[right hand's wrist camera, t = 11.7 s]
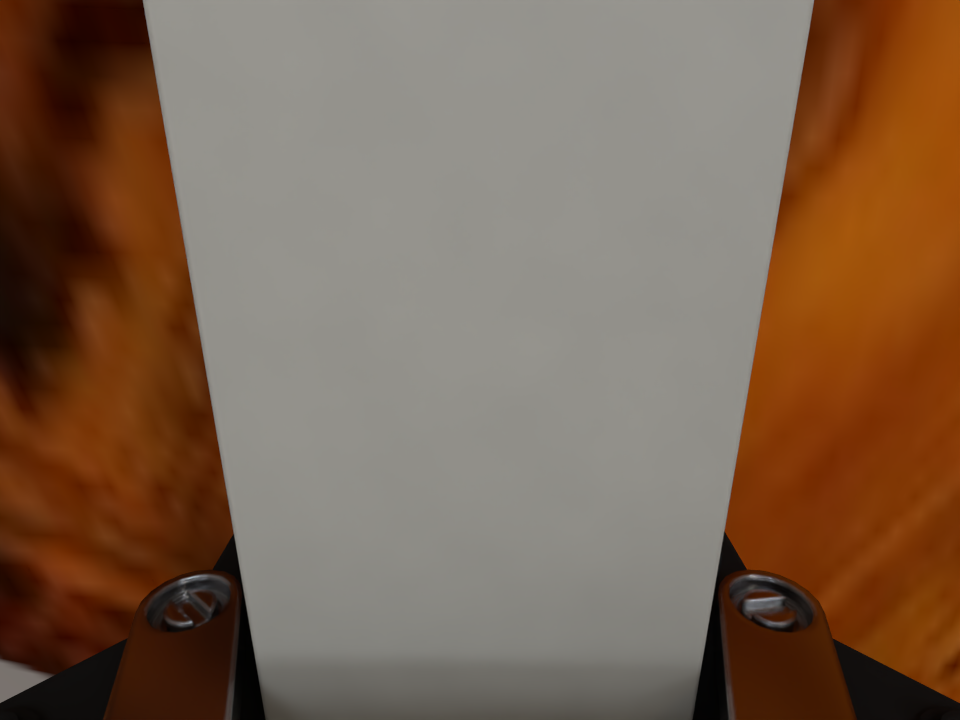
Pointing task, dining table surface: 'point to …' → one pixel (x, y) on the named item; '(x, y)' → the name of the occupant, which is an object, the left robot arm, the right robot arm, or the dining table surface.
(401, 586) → the bar
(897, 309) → the dining table surface
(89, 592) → the dining table surface
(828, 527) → the dining table surface
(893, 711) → the right robot arm
